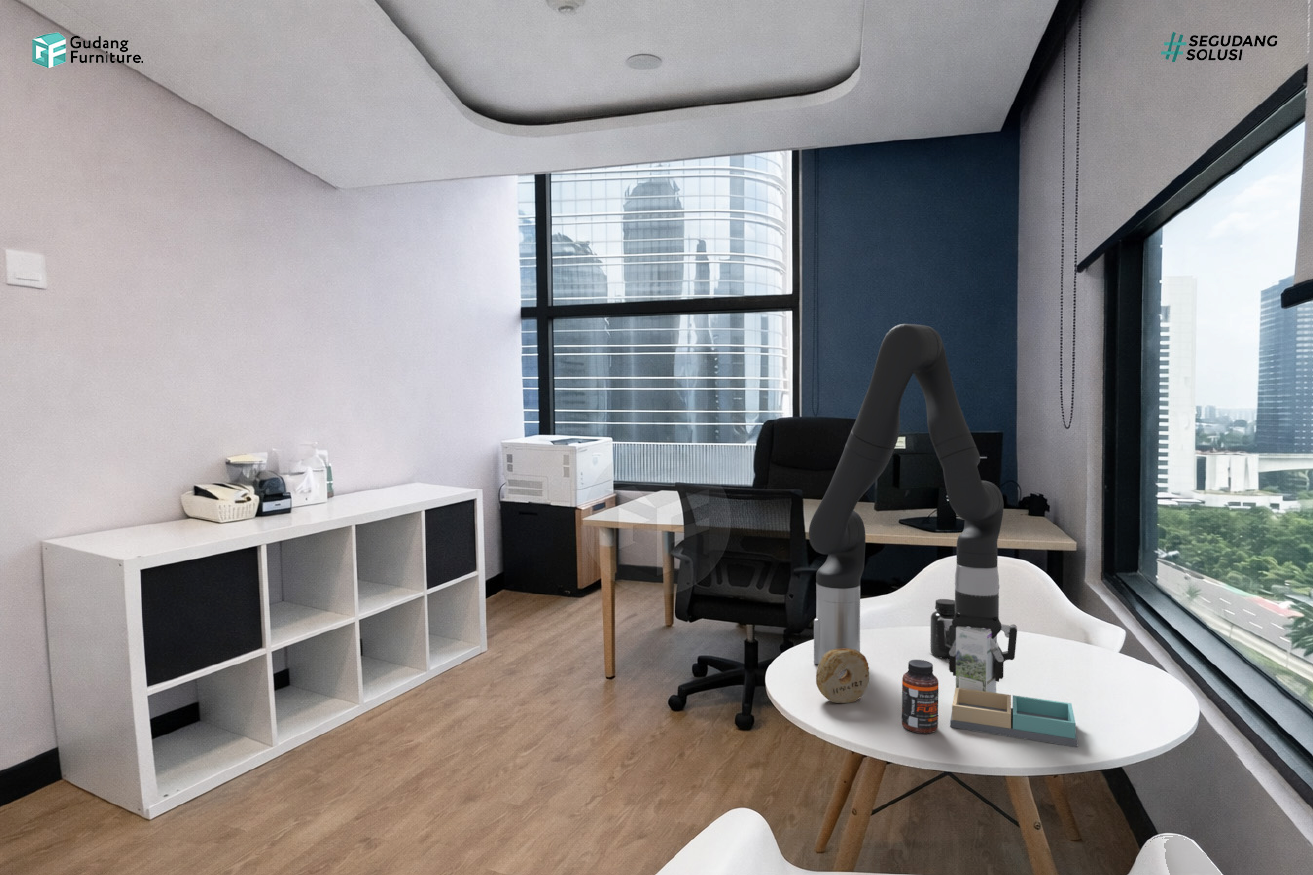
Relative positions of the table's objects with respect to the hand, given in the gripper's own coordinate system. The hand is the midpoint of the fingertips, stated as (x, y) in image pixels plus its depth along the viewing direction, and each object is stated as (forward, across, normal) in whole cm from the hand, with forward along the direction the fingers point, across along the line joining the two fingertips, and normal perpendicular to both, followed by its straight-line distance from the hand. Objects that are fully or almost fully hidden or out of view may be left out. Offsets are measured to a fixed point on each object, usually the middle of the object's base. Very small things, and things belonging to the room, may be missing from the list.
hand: (976, 677), depth 141 cm
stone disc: (+5, -23, -9) cm, 25 cm away
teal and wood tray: (+5, +6, -8) cm, 11 cm away
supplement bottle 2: (+5, -7, +27) cm, 28 cm away
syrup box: (+5, 0, 0) cm, 5 cm away
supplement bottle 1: (+5, -8, -16) cm, 19 cm away
